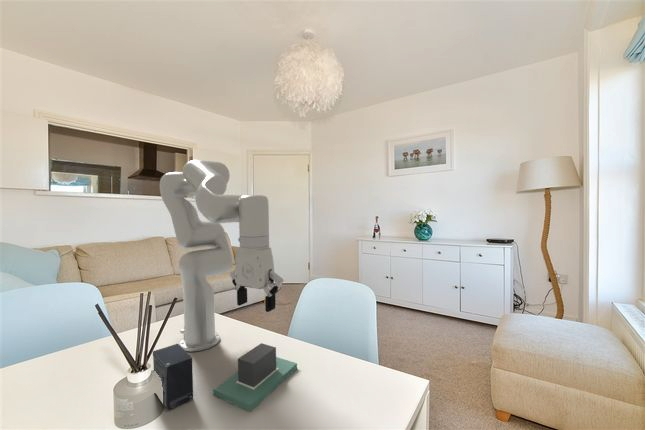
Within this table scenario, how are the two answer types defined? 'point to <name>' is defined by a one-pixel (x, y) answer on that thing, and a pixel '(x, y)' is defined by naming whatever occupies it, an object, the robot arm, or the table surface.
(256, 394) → the board
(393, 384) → the table surface
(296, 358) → the table surface
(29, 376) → the table surface
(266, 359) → the block
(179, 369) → the small box
